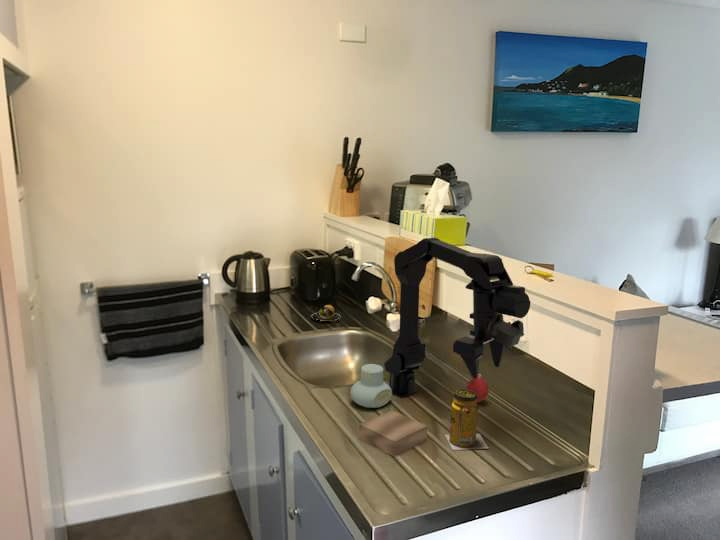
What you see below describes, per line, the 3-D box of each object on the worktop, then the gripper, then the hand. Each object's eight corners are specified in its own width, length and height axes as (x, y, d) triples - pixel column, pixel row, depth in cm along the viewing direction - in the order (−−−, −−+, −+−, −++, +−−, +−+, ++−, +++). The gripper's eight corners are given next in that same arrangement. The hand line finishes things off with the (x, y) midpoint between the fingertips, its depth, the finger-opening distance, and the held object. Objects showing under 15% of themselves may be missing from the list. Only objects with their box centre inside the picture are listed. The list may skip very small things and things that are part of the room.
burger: (308, 316, 231) (308, 298, 230) (337, 315, 235) (337, 297, 233) (314, 325, 220) (314, 306, 219) (344, 324, 223) (345, 305, 222)
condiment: (444, 434, 138) (447, 387, 136) (479, 434, 139) (483, 387, 137) (452, 450, 131) (455, 400, 129) (488, 449, 132) (493, 400, 129)
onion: (471, 408, 153) (473, 379, 151) (461, 399, 158) (463, 371, 157) (491, 406, 154) (493, 377, 153) (481, 397, 160) (483, 369, 158)
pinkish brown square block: (359, 439, 135) (359, 423, 134) (391, 425, 143) (391, 410, 142) (394, 458, 128) (395, 441, 127) (426, 442, 135) (427, 426, 134)
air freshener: (368, 415, 147) (369, 377, 145) (345, 404, 153) (346, 368, 151) (396, 402, 155) (398, 367, 153) (373, 393, 160) (374, 358, 158)
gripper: (492, 325, 124) (493, 394, 127) (537, 305, 136) (537, 368, 140) (450, 316, 132) (451, 381, 135) (496, 298, 144) (496, 358, 148)
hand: (486, 372), depth 139 cm, fingers open, 9 cm apart
